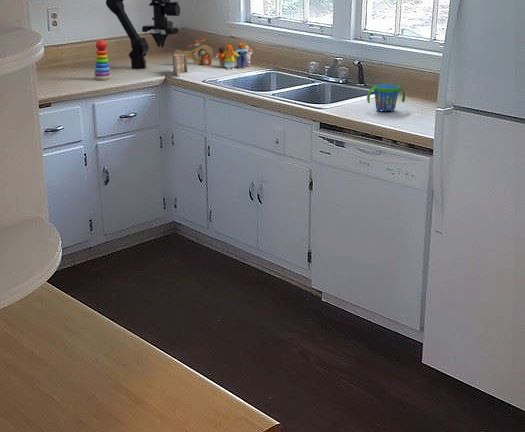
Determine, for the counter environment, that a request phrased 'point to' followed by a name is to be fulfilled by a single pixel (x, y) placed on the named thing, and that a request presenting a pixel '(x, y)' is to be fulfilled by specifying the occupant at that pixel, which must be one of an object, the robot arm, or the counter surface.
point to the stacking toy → (101, 62)
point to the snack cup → (386, 96)
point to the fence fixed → (183, 62)
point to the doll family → (229, 60)
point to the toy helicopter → (195, 56)
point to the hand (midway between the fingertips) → (160, 47)
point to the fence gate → (176, 64)
